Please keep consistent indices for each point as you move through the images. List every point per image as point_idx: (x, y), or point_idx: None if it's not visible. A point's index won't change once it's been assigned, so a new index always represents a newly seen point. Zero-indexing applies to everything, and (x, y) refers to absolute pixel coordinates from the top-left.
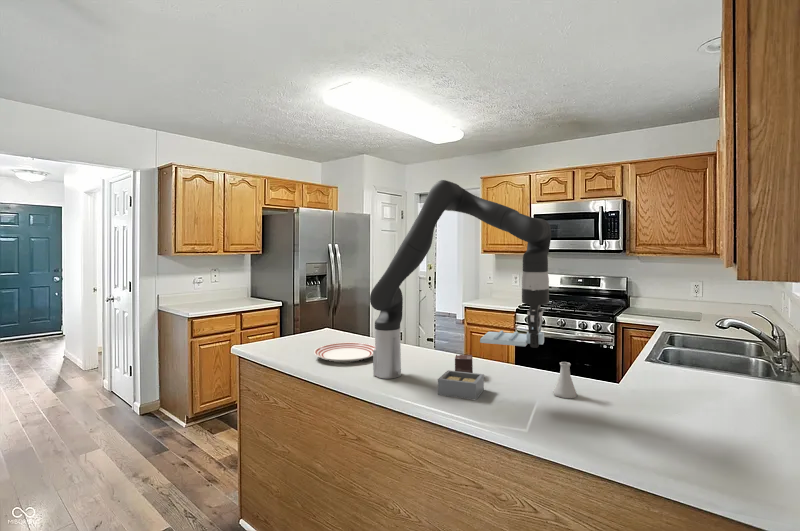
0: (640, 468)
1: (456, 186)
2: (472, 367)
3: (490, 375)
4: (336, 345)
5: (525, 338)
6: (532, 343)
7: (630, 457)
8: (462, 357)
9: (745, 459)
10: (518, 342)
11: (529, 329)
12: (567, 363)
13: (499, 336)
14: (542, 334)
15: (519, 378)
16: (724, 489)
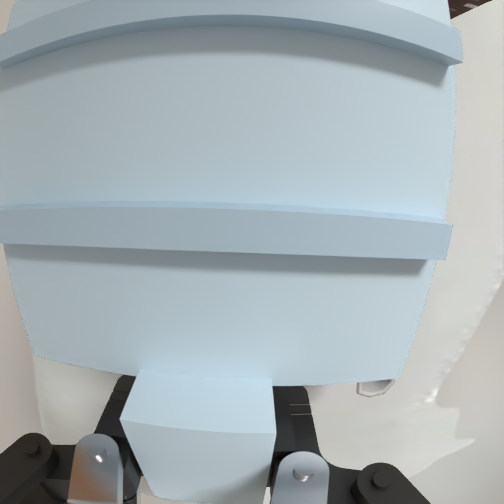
0: (38, 391)
1: None
2: (457, 9)
3: (467, 74)
4: None
5: (173, 361)
6: (118, 390)
7: (56, 390)
8: None
9: (140, 479)
10: (21, 297)
11: (2, 462)
12: (385, 384)
13: (172, 28)
14: (155, 494)
15: (465, 170)
16: (56, 440)
